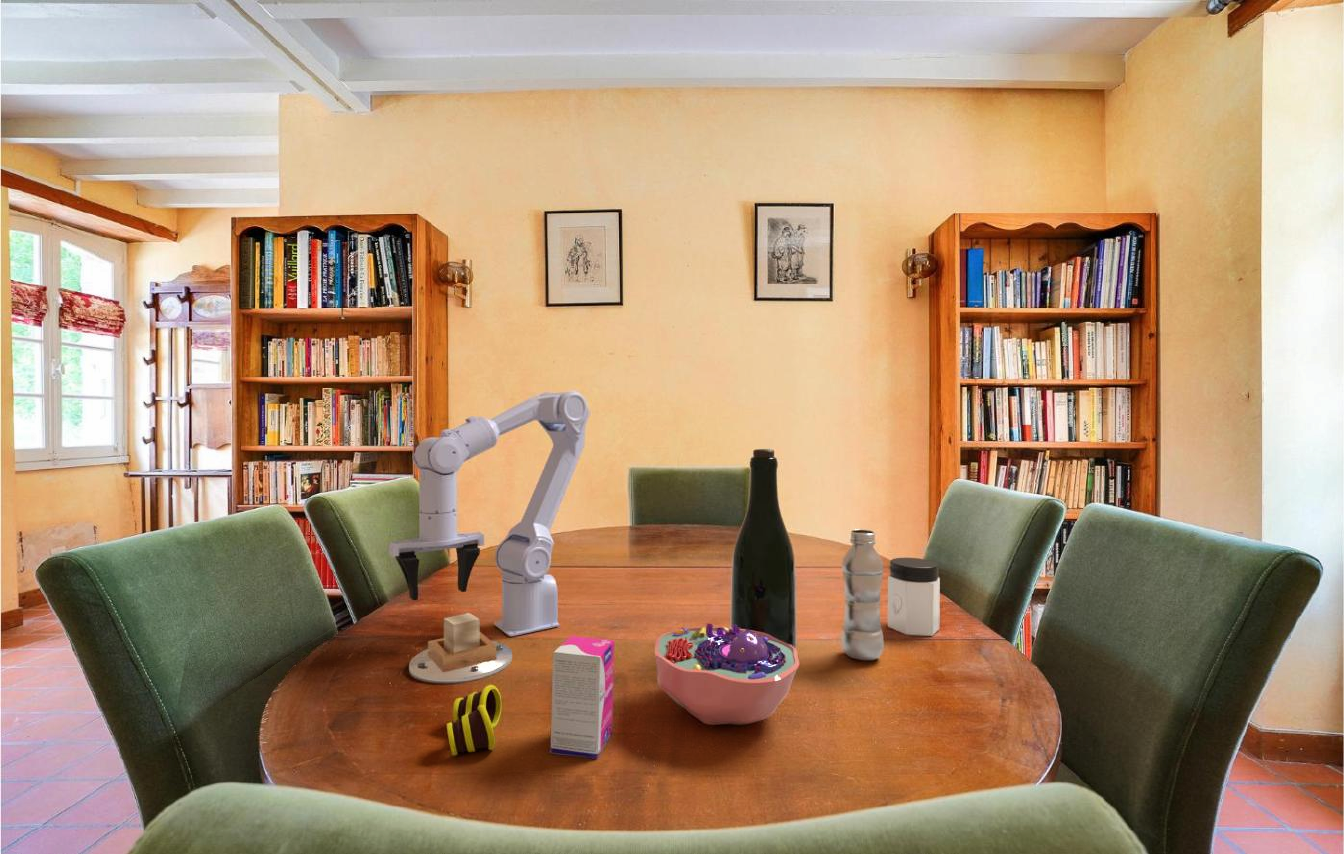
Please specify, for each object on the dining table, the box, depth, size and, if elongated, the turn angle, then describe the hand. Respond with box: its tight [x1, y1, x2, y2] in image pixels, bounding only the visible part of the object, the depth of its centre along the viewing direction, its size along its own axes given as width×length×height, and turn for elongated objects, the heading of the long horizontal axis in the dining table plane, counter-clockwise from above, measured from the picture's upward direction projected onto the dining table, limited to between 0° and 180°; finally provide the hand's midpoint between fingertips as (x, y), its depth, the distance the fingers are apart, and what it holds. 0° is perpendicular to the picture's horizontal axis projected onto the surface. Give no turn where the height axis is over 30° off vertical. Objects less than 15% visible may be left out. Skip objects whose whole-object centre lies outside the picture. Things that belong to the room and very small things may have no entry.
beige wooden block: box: [443, 612, 481, 654], centre depth 94 cm, size 4×4×6 cm
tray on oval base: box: [408, 631, 513, 685], centre depth 94 cm, size 15×15×3 cm
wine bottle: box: [729, 448, 797, 650], centre depth 97 cm, size 10×10×33 cm
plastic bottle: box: [840, 529, 885, 661], centre depth 96 cm, size 6×7×20 cm
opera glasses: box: [446, 684, 502, 757], centre depth 72 cm, size 10×5×5 cm, turn 11°
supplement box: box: [549, 635, 615, 759], centre depth 70 cm, size 6×6×12 cm
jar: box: [887, 557, 941, 637], centre depth 110 cm, size 9×8×12 cm
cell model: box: [654, 622, 800, 726], centre depth 78 cm, size 17×20×11 cm
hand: (438, 594), depth 99 cm, fingers open, 7 cm apart
